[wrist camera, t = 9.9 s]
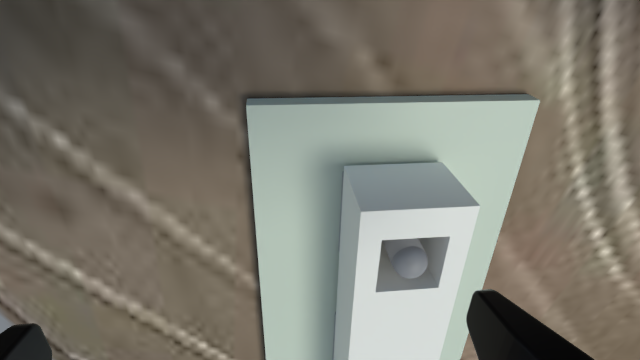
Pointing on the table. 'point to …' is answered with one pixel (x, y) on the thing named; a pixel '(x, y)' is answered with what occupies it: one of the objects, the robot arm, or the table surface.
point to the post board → (327, 189)
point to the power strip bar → (377, 271)
